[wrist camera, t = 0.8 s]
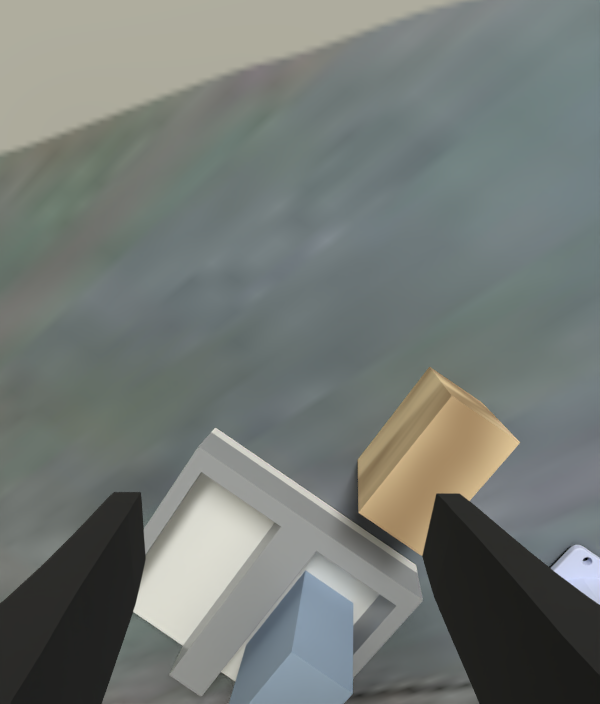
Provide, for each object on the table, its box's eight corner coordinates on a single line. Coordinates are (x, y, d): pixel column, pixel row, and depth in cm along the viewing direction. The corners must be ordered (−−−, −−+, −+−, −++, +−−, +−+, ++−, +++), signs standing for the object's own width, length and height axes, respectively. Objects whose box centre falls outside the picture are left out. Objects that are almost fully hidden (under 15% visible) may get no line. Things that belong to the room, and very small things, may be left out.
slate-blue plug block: (353, 603, 27) (352, 693, 21) (291, 675, 29) (275, 778, 23) (305, 570, 27) (291, 651, 21) (246, 644, 29) (218, 739, 23)
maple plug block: (481, 402, 25) (520, 442, 19) (407, 493, 27) (421, 555, 21) (429, 366, 25) (451, 395, 19) (357, 459, 27) (358, 512, 21)
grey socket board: (415, 564, 27) (423, 600, 24) (291, 707, 30) (284, 754, 27) (215, 427, 27) (198, 446, 24) (111, 584, 30) (85, 617, 27)
